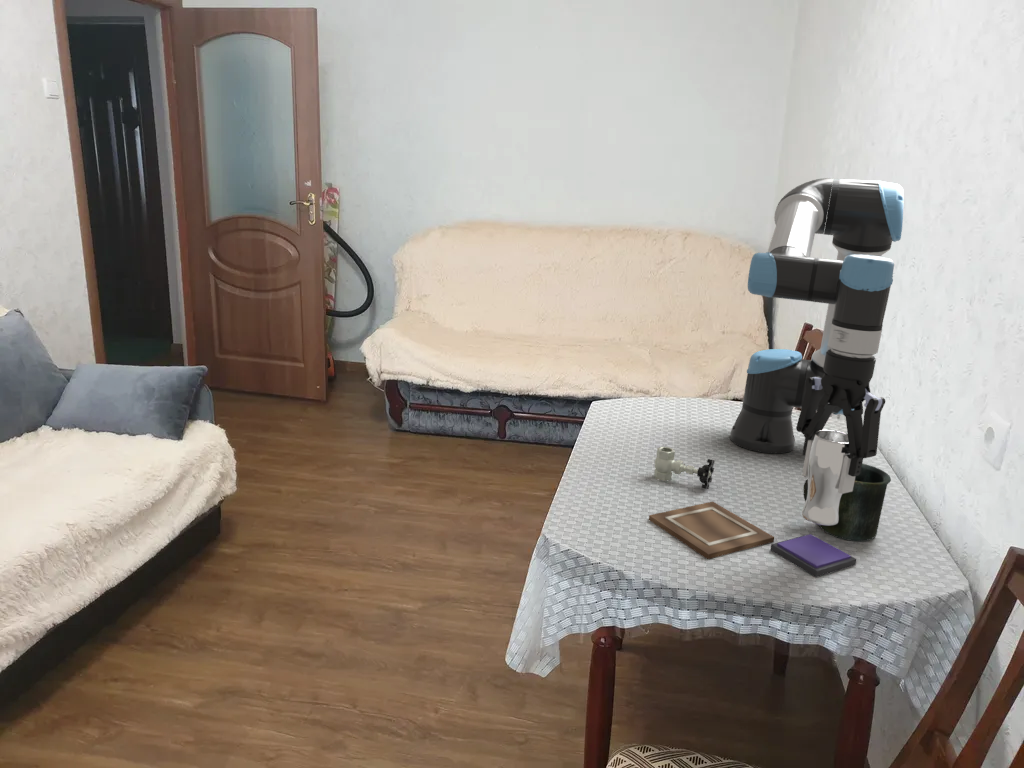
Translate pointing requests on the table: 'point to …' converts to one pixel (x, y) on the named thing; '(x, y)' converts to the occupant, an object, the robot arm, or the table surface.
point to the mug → (860, 506)
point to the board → (711, 529)
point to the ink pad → (813, 555)
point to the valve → (680, 467)
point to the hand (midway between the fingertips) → (826, 483)
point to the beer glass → (825, 476)
